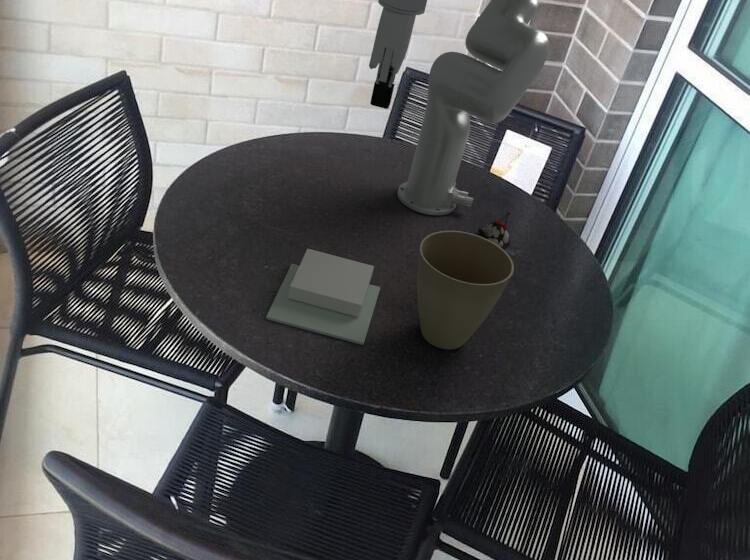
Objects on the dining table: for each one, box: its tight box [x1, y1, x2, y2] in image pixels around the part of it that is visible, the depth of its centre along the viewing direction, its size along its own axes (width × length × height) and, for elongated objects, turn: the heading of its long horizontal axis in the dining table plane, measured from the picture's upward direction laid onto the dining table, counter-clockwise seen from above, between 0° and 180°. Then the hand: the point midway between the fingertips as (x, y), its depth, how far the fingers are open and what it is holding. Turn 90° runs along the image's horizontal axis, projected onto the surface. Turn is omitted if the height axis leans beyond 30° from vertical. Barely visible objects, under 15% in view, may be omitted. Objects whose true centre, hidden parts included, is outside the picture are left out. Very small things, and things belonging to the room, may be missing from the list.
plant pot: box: [416, 230, 515, 350], centre depth 130 cm, size 15×15×16 cm
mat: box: [265, 263, 381, 346], centre depth 135 cm, size 16×16×1 cm
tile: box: [288, 248, 375, 317], centre depth 137 cm, size 12×3×12 cm
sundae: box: [474, 212, 513, 251], centre depth 145 cm, size 7×7×15 cm
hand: (379, 105), depth 138 cm, fingers closed
